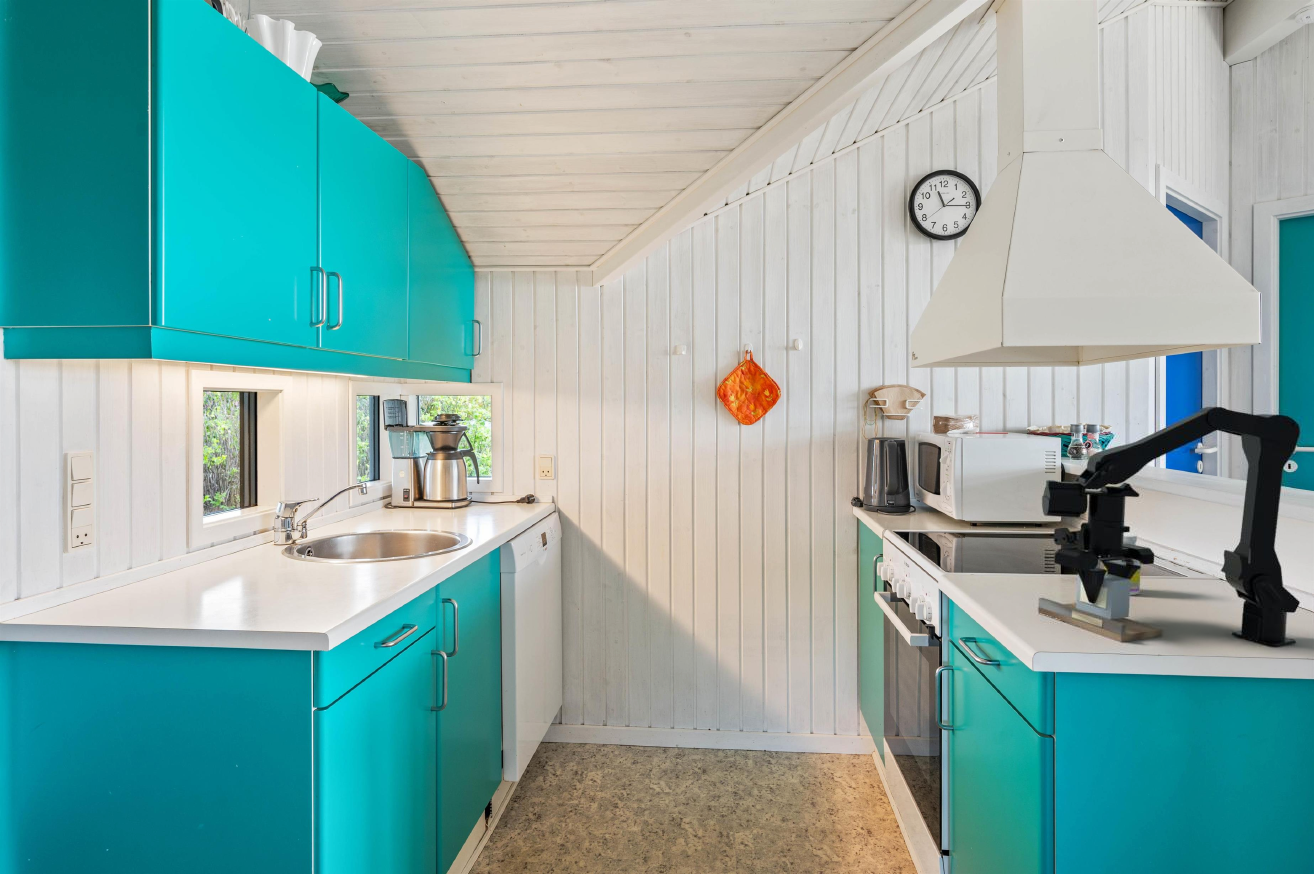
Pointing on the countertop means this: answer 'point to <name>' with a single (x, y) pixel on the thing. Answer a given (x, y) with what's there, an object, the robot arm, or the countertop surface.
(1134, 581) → the supplement bottle
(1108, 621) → the shelf board
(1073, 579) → the countertop surface
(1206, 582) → the countertop surface
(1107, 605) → the carton
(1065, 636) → the countertop surface
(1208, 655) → the countertop surface
